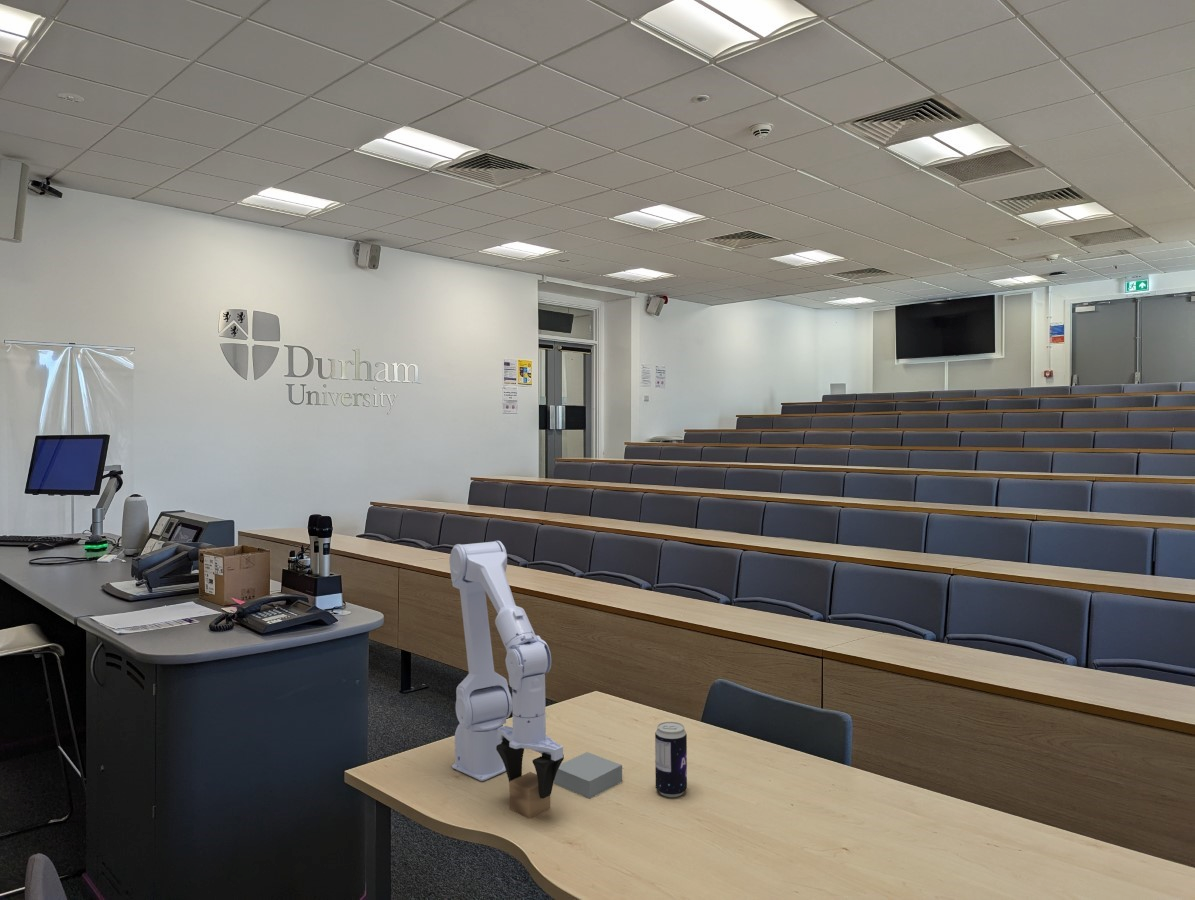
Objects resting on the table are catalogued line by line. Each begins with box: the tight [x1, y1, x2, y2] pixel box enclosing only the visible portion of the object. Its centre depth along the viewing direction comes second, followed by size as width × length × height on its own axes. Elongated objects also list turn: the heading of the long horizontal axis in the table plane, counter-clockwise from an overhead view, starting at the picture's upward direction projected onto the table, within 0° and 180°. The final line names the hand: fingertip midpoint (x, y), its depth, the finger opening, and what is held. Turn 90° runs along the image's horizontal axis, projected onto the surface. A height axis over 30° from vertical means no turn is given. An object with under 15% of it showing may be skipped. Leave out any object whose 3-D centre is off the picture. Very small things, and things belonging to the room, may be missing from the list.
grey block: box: [553, 751, 623, 799], centre depth 146 cm, size 9×9×4 cm
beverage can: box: [654, 721, 688, 798], centre depth 142 cm, size 6×6×12 cm
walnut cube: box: [508, 771, 551, 820], centre depth 136 cm, size 5×5×5 cm
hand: (530, 789), depth 136 cm, fingers open, 7 cm apart
